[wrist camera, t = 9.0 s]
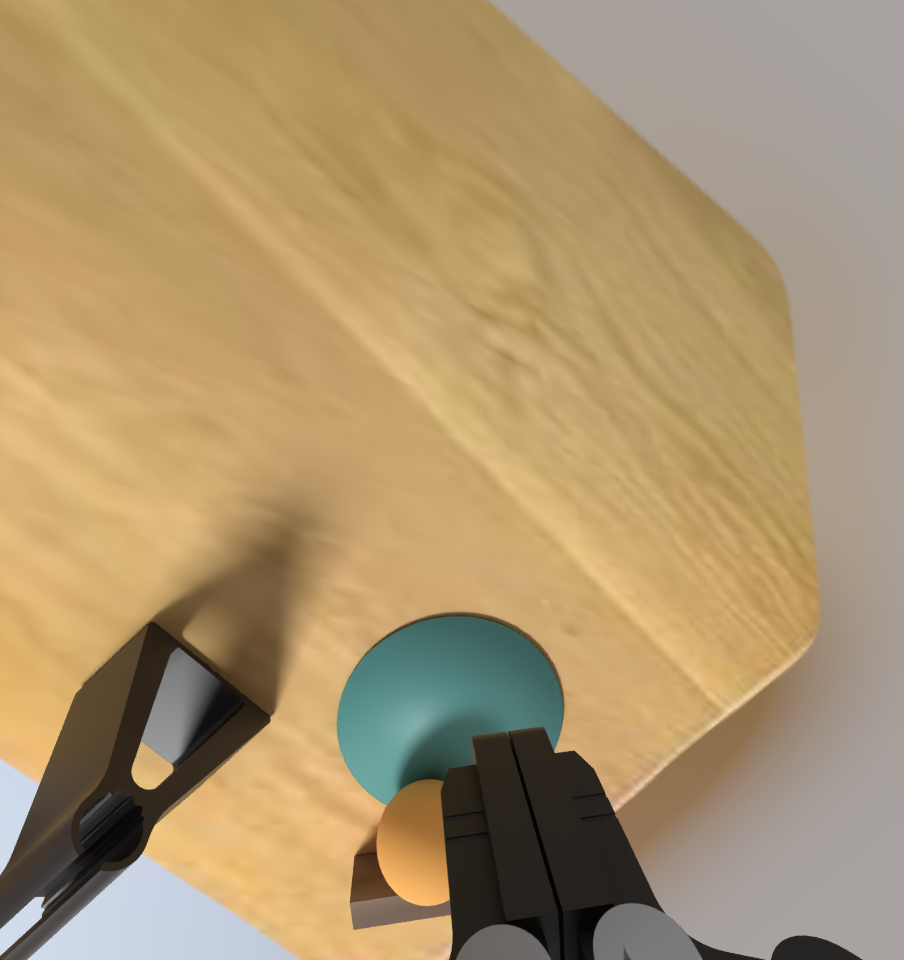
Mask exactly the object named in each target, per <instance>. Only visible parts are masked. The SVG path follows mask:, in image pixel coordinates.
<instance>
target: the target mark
mask: <svg viewBox="0 0 904 960" xmlns="http://www.w3.org/2000/svg"><path fill="white" fill-rule="evenodd" d="M562 720H563V704H562V695H561V691H560V687H559V683H558V681H557V678H556V676H555V674H554V671H553V669H552V668H551V666H550V664H549V663H548V661H547V659H546V658H545V657H544V655H543V654H542V653H541V652H540V651H539V649H538V648H537V647H536V646H535V645H533V644H532V643H531V642H530V641H529V640H528V639H527V638H525V637H524V636H522V635H521V634H519V633H518V632H516V631H515V630H513V629H511V628H509V627H507V626H505V625H502V624H500V623H497V622H494V621H491V620H487V619H482V618H477V617H469V616H445V617H438V618H432V619H427V620H424V621H421V622H417V623H414V624H411V625H409V626H407V627H405V628H402V629H400V630H398V631H396V632H395V633H393V634H391V635H390V636H388V637H386V638H385V639H384V640H382V641H381V642H380V643H378V644H377V645H376V646H374V647H373V648H372V649H371V650H370V651H369V652H368V653H367V654H366V655H365V656H364V657H363V658H362V660H361V661H360V662H359V664H358V665H357V666H356V668H355V669H354V671H353V672H352V674H351V676H350V678H349V679H348V681H347V683H346V686H345V688H344V691H343V693H342V696H341V700H340V705H339V709H338V718H337V732H338V740H339V745H340V750H341V752H342V755H343V758H344V760H345V763H346V764H347V766H348V768H349V770H350V772H351V773H352V775H353V776H354V777H355V779H356V780H357V781H358V783H359V784H360V785H361V786H362V787H363V788H364V789H365V790H366V791H367V792H368V793H369V794H371V795H372V796H374V797H375V798H376V799H378V800H379V801H380V802H382V803H384V804H386V805H388V803H389V802H390V801H391V799H392V798H393V797H394V796H395V795H396V794H397V793H398V792H399V791H400V790H401V789H403V788H404V787H405V786H407V785H409V784H411V783H413V782H416V781H419V780H424V779H436V780H440V781H444V780H445V778H446V775H447V772H448V770H449V768H455V767H462V766H469V765H473V758H472V745H471V736H476V735H483V734H491V733H498V732H505V731H506V732H507V735H508V731H512V730H519V729H526V728H534V727H541V726H543V727H544V728H545V730H546V732H547V735H548V737H549V740H550V742H551V745H552V747H553V750H555V747H556V745H557V742H558V739H559V736H560V732H561V726H562Z"/></svg>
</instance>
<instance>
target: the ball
mask: <svg viewBox="0 0 904 960" xmlns="http://www.w3.org/2000/svg"><path fill="white" fill-rule="evenodd" d="M443 783H444V781H440V780H436V779H424V780H419V781H416V782H413V783H411V784H409V785H407V786H405V787H404V788H403V789H401V790H400V791H399V792H398V793H397V794H396V795H395V796H394V797H393V798H392V799H391V801H390V802H389V803H388V805H387V807H386V808H385V810H384V813H383V815H382V817H381V820H380V823H379V828H378V832H377V856H378V861H379V865H380V868H381V871H382V873H383V875H384V877H385V879H386V881H387V883H388V884H389V886H390V887H391V888H392V889H393V890H394V891H395V893H396V894H398V895H399V896H400V897H401V898H403V899H405V900H406V901H408V902H410V903H413V904H416V905H421V906H433V905H438V904H441V903H444V902H446V901H448V900H450V896H449V884H448V873H447V862H446V850H445V839H444V827H443V816H442V804H441V793H440V791H441V788H442V786H443Z"/></svg>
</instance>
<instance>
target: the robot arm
mask: <svg viewBox="0 0 904 960" xmlns="http://www.w3.org/2000/svg"><path fill="white" fill-rule="evenodd" d="M471 745H472V758H473V765H469V766H462V767H455V768H449V770H448V772H447V775H446V778H445V780H444V783H443V786H442V788H441V791H440V793H441V804H442V816H443V827H444V839H445V850H446V862H447V873H448V884H449V896H450V907H451V919H452V930H453V943H452V951H451V955H450V959H449V960H763V959H759V958H754V957H749V956H744V955H739V954H734V953H729V952H724V951H721V950H717V949H714V948H711V947H709V946H707V945H704V944H702V943H700V942H698V941H697V940H695V939H693V938H692V937H690V936H689V935H687V934H686V932H685V931H684V930H683V929H682V928H681V927H680V926H679V925H678V924H677V923H676V922H675V921H674V920H673V919H671V918H670V917H669V916H667V915H666V914H665V912H664V911H663V910H662V908H661V907H660V905H659V903H658V902H657V900H656V898H655V896H654V894H653V892H652V890H651V888H650V885H649V883H648V881H647V879H646V877H645V875H644V873H643V871H642V869H641V867H640V865H639V863H638V860H637V858H636V857H635V854H634V852H633V850H632V848H631V846H630V844H629V842H628V839H627V837H626V835H625V833H624V831H623V829H622V827H621V825H620V823H619V821H618V818H616V816H615V812H614V810H613V808H612V806H611V804H610V802H609V799H608V797H607V798H606V795H605V791H604V789H603V787H602V785H601V783H600V781H599V779H598V776H597V774H596V772H595V770H594V769H593V768H592V767H591V766H590V765H589V764H588V763H587V762H586V761H585V760H584V759H583V758H582V757H581V756H580V755H579V754H577V753H576V752H575V751H568V752H561V753H555V752H554V750H553V747H552V745H551V742H550V740H549V737H548V735H547V732H546V730H545V728H544V727H543V726H541V727H534V728H526V729H519V730H512V731H508V735H507V732H506V731H505V732H498V733H491V734H483V735H476V736H471ZM771 960H862V959H860V958H859V957H857V956H856V955H854V954H852V953H851V952H849V951H847V950H846V949H844V948H842V947H840V946H838V945H836V944H834V943H832V942H829V941H827V940H824V939H821V938H817V937H812V936H794V937H790V938H787V939H785V940H783V941H782V942H780V943H779V944H778V945H777V947H776V948H775V950H774V952H773V954H772V958H771Z"/></svg>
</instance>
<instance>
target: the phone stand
mask: <svg viewBox="0 0 904 960" xmlns="http://www.w3.org/2000/svg"><path fill="white" fill-rule="evenodd" d="M270 720H271V719H270V716H269V715H268V714H267V713H266V712H265V711H263V710H262V709H261V708H260V707H258V706H257V705H256V704H255V703H253V702H252V701H251V700H250V699H249V698H247V697H246V696H245V695H244V694H242V693H241V692H240V691H239V690H237V689H236V688H235V687H234V686H233V685H231V684H230V683H229V682H228V681H226V680H225V679H224V678H223V677H221V676H220V675H219V674H218V673H213V672H212V670H211V668H210V667H209V666H208V665H207V664H205V663H204V662H203V661H202V660H200V659H199V658H198V657H197V656H196V655H194V654H193V653H192V652H191V651H189V650H188V649H187V648H186V647H184V646H183V645H182V644H181V643H180V642H178V641H177V640H176V639H175V638H173V637H172V636H171V635H170V634H168V633H167V632H166V631H165V630H164V629H162V628H161V627H160V626H159V625H157V624H156V623H153V622H151V623H149V624H148V625H147V626H146V627H145V628H144V629H143V630H142V631H141V632H140V633H139V634H138V635H137V636H136V637H134V638H133V639H132V640H131V641H130V642H129V643H128V644H127V645H126V646H125V647H124V648H123V649H122V650H121V651H120V652H119V653H118V654H117V655H116V656H115V657H114V658H113V659H111V660H110V661H109V662H108V663H107V664H106V665H105V666H104V667H103V668H102V669H101V670H100V671H99V672H98V673H97V674H96V675H95V676H94V677H93V678H92V679H91V680H90V681H89V682H87V683H86V684H85V685H84V686H83V687H82V688H81V689H80V690H79V691H78V692H77V693H76V694H75V697H74V699H73V702H72V704H71V707H70V709H69V712H68V714H67V717H66V719H65V722H64V724H63V727H62V730H61V732H60V735H59V737H58V740H57V742H56V745H55V747H54V750H53V752H52V755H51V757H50V760H49V762H48V765H47V767H46V770H45V772H44V775H43V777H42V780H41V782H40V785H39V788H38V790H37V793H36V795H35V798H34V800H33V803H32V806H31V808H30V810H29V813H28V815H27V818H26V821H25V823H24V825H23V828H22V830H21V833H20V835H19V838H18V840H17V843H16V846H15V848H14V851H13V853H12V855H11V858H10V860H9V862H8V864H7V866H6V867H5V869H4V871H3V872H2V874H1V875H0V929H1V928H2V927H3V926H4V925H5V924H6V923H7V922H9V921H10V920H11V919H12V918H13V917H14V916H15V915H16V914H17V913H18V912H19V911H20V910H21V909H23V908H24V907H25V906H26V905H27V904H28V903H29V902H30V901H31V900H32V899H33V898H34V897H45V898H44V901H43V903H42V906H41V907H42V908H44V909H45V910H44V912H43V913H42V918H41V919H40V920H39V921H38V922H37V923H36V924H35V925H34V926H33V927H31V928H30V929H29V930H28V931H27V932H26V933H25V934H24V935H23V936H22V937H21V938H19V939H18V940H17V941H16V942H15V943H14V944H13V945H12V946H11V947H10V948H9V949H8V950H6V951H5V952H4V953H3V954H2V955H1V956H0V960H27V959H28V958H29V957H30V956H32V955H33V954H34V953H35V952H36V951H37V950H38V949H39V948H40V947H41V946H43V945H44V944H45V943H46V942H47V941H48V940H49V939H50V938H51V937H52V936H54V935H55V934H56V933H57V932H58V931H59V930H60V929H61V928H62V927H63V926H64V925H66V924H67V923H68V922H69V921H70V920H71V919H72V918H73V917H74V916H75V915H77V914H78V913H79V912H80V911H81V910H82V909H83V908H84V907H85V906H86V905H87V904H89V903H90V902H91V901H92V900H93V899H94V898H95V897H96V896H97V895H98V894H99V893H101V892H102V891H103V890H104V889H105V888H106V887H107V886H108V885H109V884H111V883H112V882H113V881H114V880H115V879H116V878H117V877H118V876H119V875H120V874H121V873H122V872H123V871H125V870H126V869H127V868H128V867H129V866H130V865H131V864H132V863H134V862H135V861H136V860H137V859H138V858H139V856H140V855H141V854H142V852H143V851H144V849H145V847H146V845H147V842H148V839H149V836H150V834H151V832H152V829H153V827H154V826H155V825H156V824H157V823H158V822H159V821H160V820H161V819H163V818H164V817H165V816H166V815H167V814H168V813H169V812H171V811H172V810H173V809H174V808H175V807H176V806H178V805H179V804H180V803H181V802H182V801H183V800H185V799H186V798H187V797H188V796H189V795H190V794H192V793H193V792H194V791H195V790H196V789H197V788H199V787H200V786H201V785H202V784H203V783H204V782H205V781H206V780H207V779H208V778H210V777H211V776H212V775H213V774H214V773H215V772H216V771H217V770H218V769H219V768H220V767H222V766H223V765H224V764H225V763H226V762H227V761H228V760H229V759H230V758H231V757H232V756H234V755H235V754H236V753H237V752H238V751H239V750H240V749H241V748H242V747H243V746H244V745H246V744H247V743H248V742H249V741H250V740H251V739H252V738H253V737H254V736H255V735H256V734H258V733H259V732H260V731H261V730H262V729H263V728H264V727H265V726H266V725H267V724H269V723H270ZM140 742H143V743H144V744H145V745H147V746H148V747H149V748H151V749H152V750H154V751H155V752H156V753H158V754H159V755H160V756H162V757H163V758H164V759H166V760H167V761H168V762H170V763H171V764H172V765H173V768H174V770H173V772H172V774H170V775H169V776H168V777H167V778H166V779H165V780H164V781H163V782H162V783H161V784H160V785H159V786H158V787H157V788H155V789H152V790H146V789H143V788H141V787H139V786H138V785H137V784H136V783H135V782H134V780H133V778H132V774H131V769H132V765H133V762H134V760H135V757H136V754H137V751H138V748H139V745H140Z"/></svg>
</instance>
